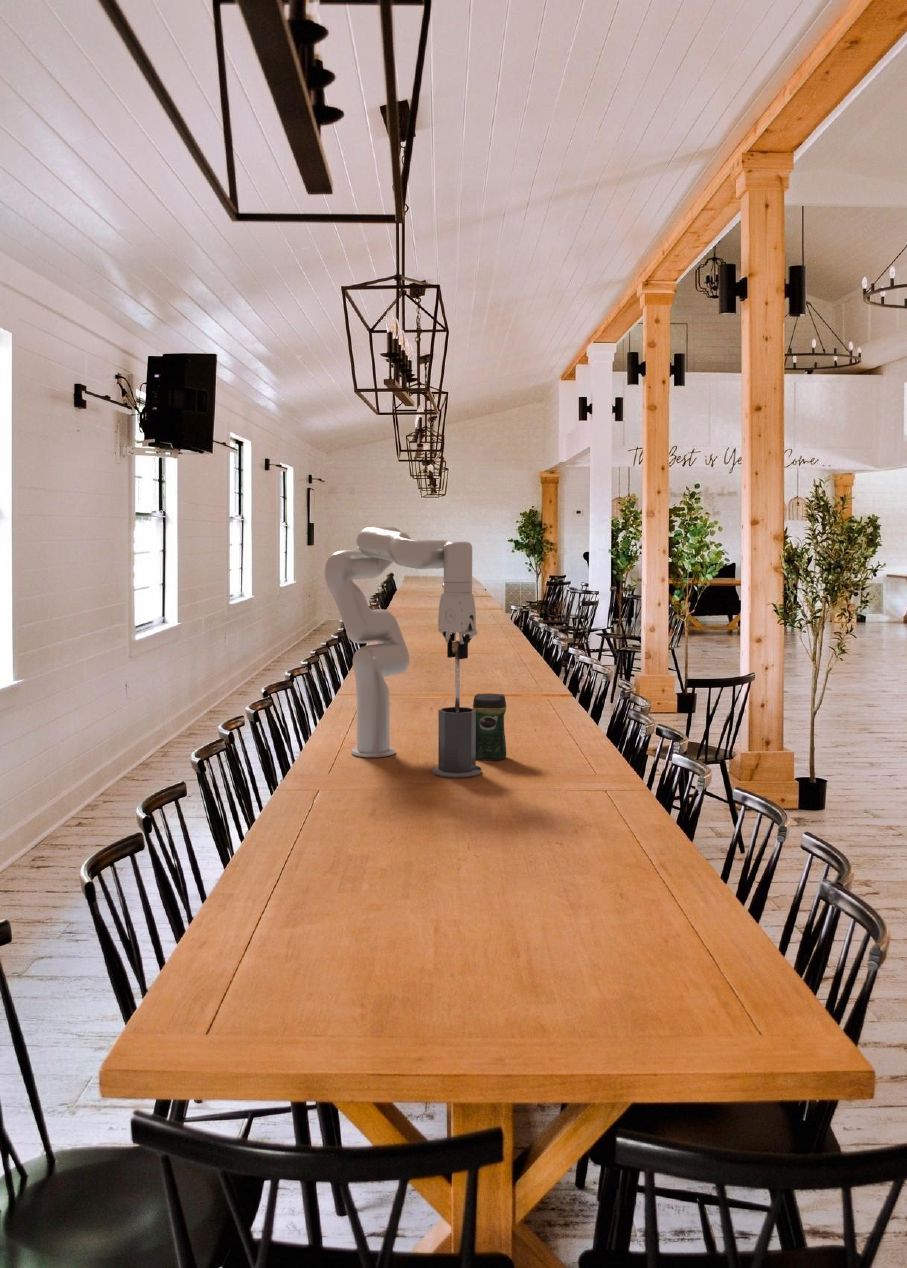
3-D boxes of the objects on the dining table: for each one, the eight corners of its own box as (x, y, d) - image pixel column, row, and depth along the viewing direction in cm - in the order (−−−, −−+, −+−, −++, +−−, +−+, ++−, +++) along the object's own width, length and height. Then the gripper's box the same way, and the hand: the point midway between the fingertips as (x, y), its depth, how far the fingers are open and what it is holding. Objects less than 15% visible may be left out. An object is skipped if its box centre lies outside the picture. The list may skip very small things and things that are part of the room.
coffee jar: (507, 755, 299) (508, 691, 297) (504, 761, 292) (505, 696, 290) (474, 754, 301) (474, 690, 299) (470, 760, 293) (471, 695, 291)
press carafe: (423, 768, 283) (423, 707, 281) (466, 764, 288) (466, 703, 286) (445, 780, 270) (445, 716, 268) (489, 775, 275) (490, 712, 274)
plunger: (439, 722, 279) (439, 640, 276) (463, 720, 282) (463, 639, 279) (450, 727, 272) (451, 643, 270) (475, 725, 275) (475, 642, 273)
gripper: (425, 587, 276) (425, 656, 278) (470, 590, 265) (470, 662, 267) (445, 586, 282) (445, 653, 284) (490, 589, 270) (490, 659, 272)
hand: (457, 657), depth 275 cm, fingers closed on plunger, 3 cm apart
